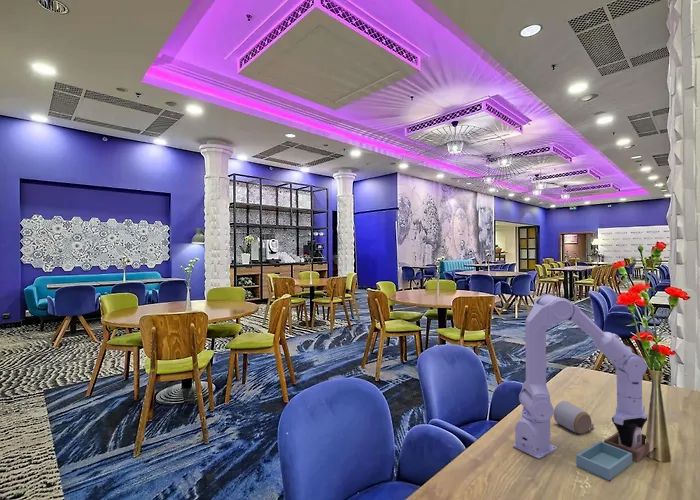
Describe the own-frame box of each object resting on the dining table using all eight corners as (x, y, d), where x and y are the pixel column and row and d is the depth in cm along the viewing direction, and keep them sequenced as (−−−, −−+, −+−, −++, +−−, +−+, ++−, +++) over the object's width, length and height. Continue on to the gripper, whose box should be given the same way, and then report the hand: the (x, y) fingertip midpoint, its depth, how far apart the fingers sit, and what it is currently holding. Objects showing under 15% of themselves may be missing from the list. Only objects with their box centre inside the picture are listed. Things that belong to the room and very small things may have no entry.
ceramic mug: (575, 437, 112) (575, 412, 112) (552, 425, 119) (552, 401, 119) (601, 432, 115) (601, 407, 115) (577, 420, 123) (577, 397, 123)
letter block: (636, 452, 101) (635, 432, 101) (618, 445, 105) (618, 426, 105) (642, 448, 103) (642, 428, 103) (625, 441, 107) (624, 422, 107)
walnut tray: (636, 464, 98) (636, 452, 98) (604, 450, 104) (604, 440, 104) (656, 449, 104) (656, 438, 104) (624, 437, 111) (624, 427, 111)
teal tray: (609, 481, 91) (609, 469, 91) (576, 466, 97) (576, 454, 97) (632, 464, 97) (632, 453, 97) (600, 451, 104) (599, 440, 104)
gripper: (634, 405, 97) (635, 457, 97) (657, 393, 105) (658, 441, 105) (604, 397, 103) (605, 445, 103) (628, 386, 111) (628, 431, 111)
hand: (630, 443), depth 104 cm, fingers closed on letter block, 4 cm apart
